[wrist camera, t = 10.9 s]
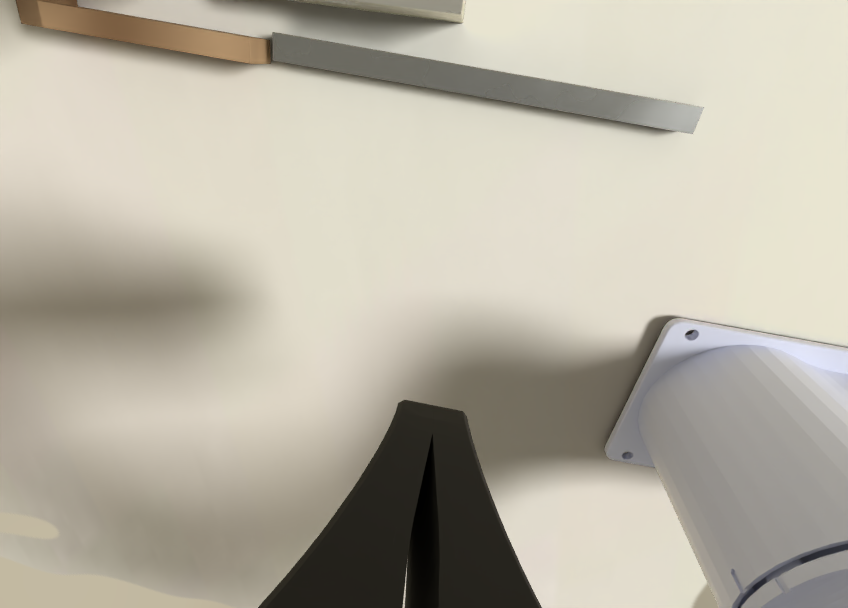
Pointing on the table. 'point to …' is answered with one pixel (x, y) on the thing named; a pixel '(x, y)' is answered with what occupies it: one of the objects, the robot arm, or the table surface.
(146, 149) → the table surface
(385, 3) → the grey notched block
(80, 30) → the frame
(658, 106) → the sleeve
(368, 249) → the table surface
